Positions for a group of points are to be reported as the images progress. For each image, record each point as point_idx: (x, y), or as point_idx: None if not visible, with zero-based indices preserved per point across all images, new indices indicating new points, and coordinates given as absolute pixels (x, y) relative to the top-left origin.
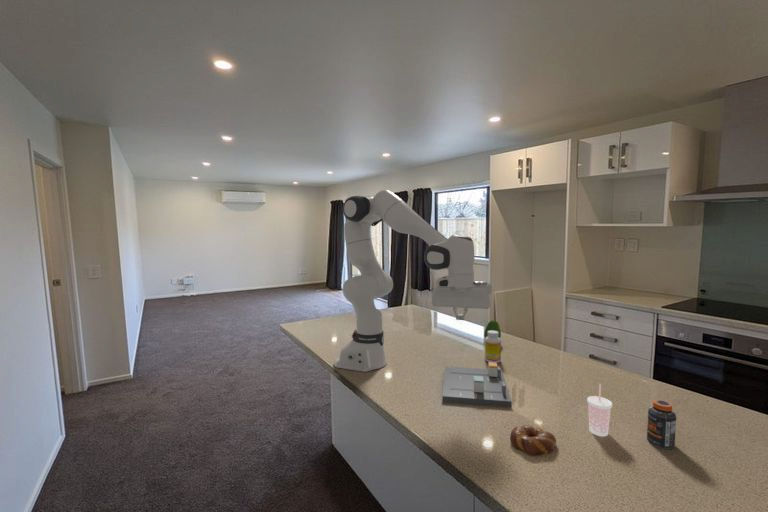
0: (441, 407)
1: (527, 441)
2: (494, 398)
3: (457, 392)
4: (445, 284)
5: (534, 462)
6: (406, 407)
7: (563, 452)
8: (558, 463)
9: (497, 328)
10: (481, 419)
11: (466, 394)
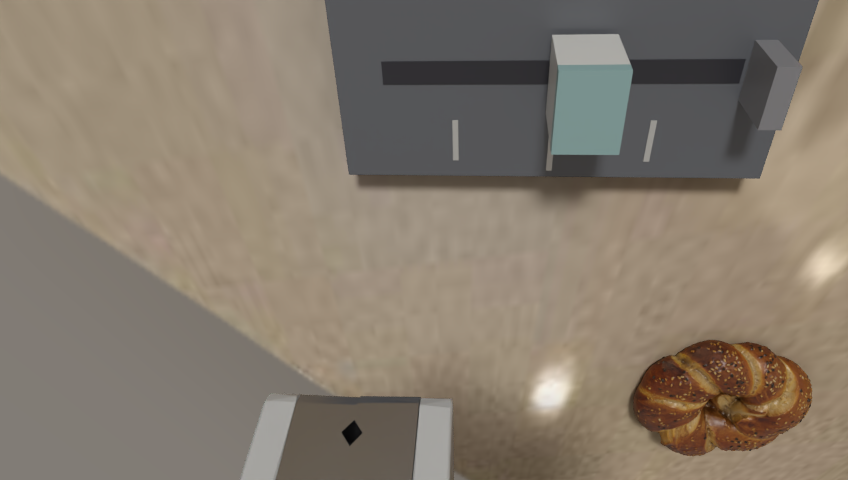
0: (358, 207)
1: (682, 453)
2: (662, 159)
3: (434, 117)
4: None
5: None
6: (194, 229)
7: None
8: None
9: None
10: (551, 275)
11: (491, 135)
